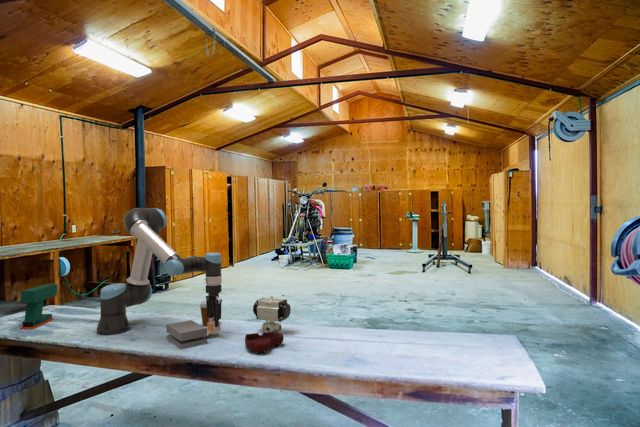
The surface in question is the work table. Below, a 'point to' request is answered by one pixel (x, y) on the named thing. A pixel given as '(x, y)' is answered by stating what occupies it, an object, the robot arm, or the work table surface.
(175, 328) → the block
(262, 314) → the ball valve
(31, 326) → the power tool
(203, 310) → the disposable coffee cup
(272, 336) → the ashtray
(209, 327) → the orange stepped block
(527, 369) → the work table surface
